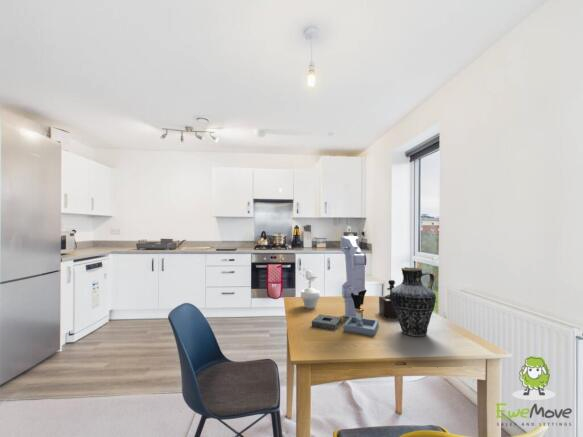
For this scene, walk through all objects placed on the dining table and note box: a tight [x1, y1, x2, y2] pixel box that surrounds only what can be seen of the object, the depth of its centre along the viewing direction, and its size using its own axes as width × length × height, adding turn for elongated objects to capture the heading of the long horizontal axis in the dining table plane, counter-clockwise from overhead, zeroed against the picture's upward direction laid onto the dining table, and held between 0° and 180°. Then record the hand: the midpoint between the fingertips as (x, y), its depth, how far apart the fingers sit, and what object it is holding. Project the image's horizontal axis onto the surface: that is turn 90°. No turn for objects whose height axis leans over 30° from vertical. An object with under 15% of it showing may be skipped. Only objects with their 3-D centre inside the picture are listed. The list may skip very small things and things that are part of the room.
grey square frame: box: [311, 313, 343, 331], centre depth 147 cm, size 12×12×2 cm
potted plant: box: [299, 268, 321, 309], centre depth 176 cm, size 13×12×25 cm
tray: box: [343, 316, 380, 337], centre depth 141 cm, size 14×14×3 cm
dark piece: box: [378, 279, 398, 319], centre depth 164 cm, size 16×11×18 cm
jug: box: [389, 266, 437, 337], centre depth 136 cm, size 21×19×30 cm
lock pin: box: [355, 307, 364, 327], centre depth 141 cm, size 4×4×9 cm
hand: (358, 306), depth 142 cm, fingers open, 7 cm apart
